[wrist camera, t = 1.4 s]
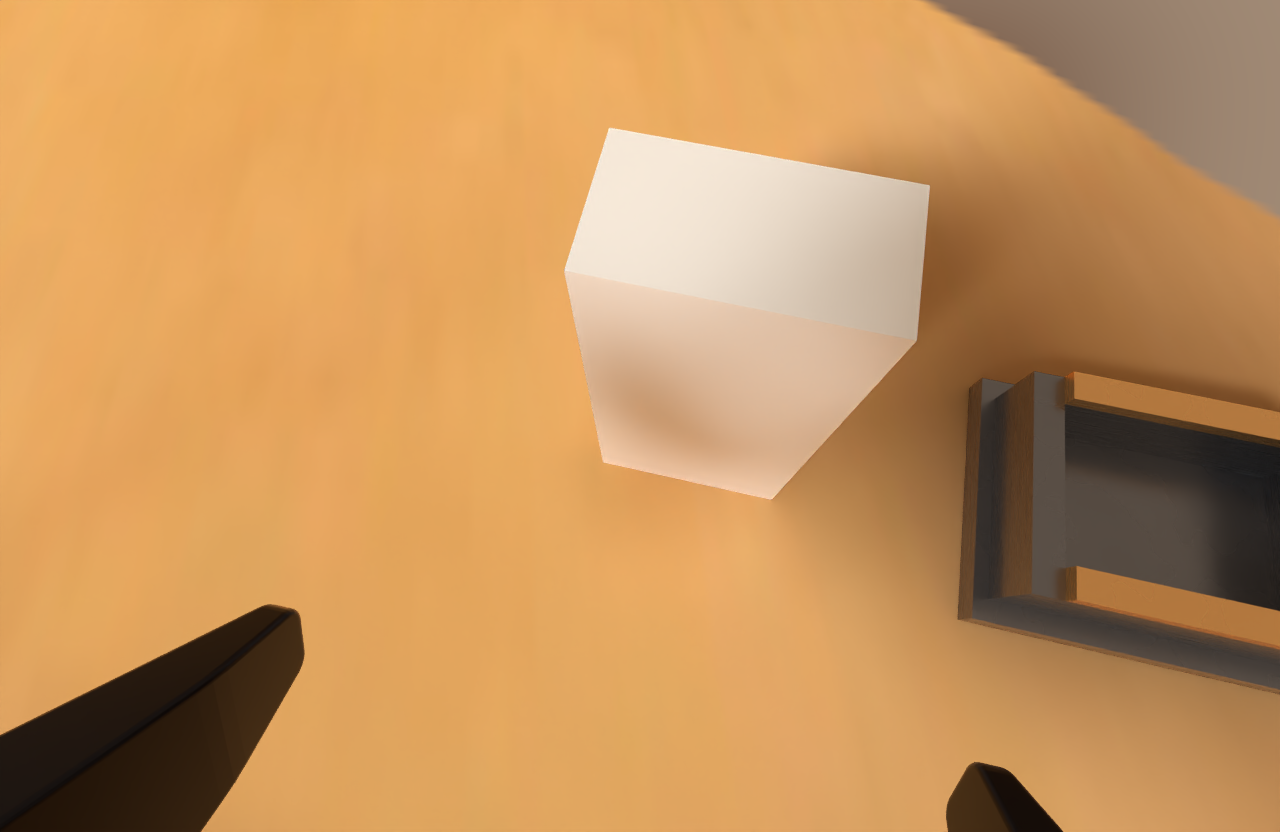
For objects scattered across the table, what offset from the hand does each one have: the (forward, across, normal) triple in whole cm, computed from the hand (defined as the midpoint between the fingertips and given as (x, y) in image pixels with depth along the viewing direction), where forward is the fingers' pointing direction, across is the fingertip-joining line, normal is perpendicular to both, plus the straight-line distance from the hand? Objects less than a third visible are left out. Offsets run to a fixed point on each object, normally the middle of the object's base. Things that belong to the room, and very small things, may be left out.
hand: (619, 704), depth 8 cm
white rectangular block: (+16, -1, +4) cm, 16 cm away
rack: (+15, -22, +4) cm, 27 cm away
